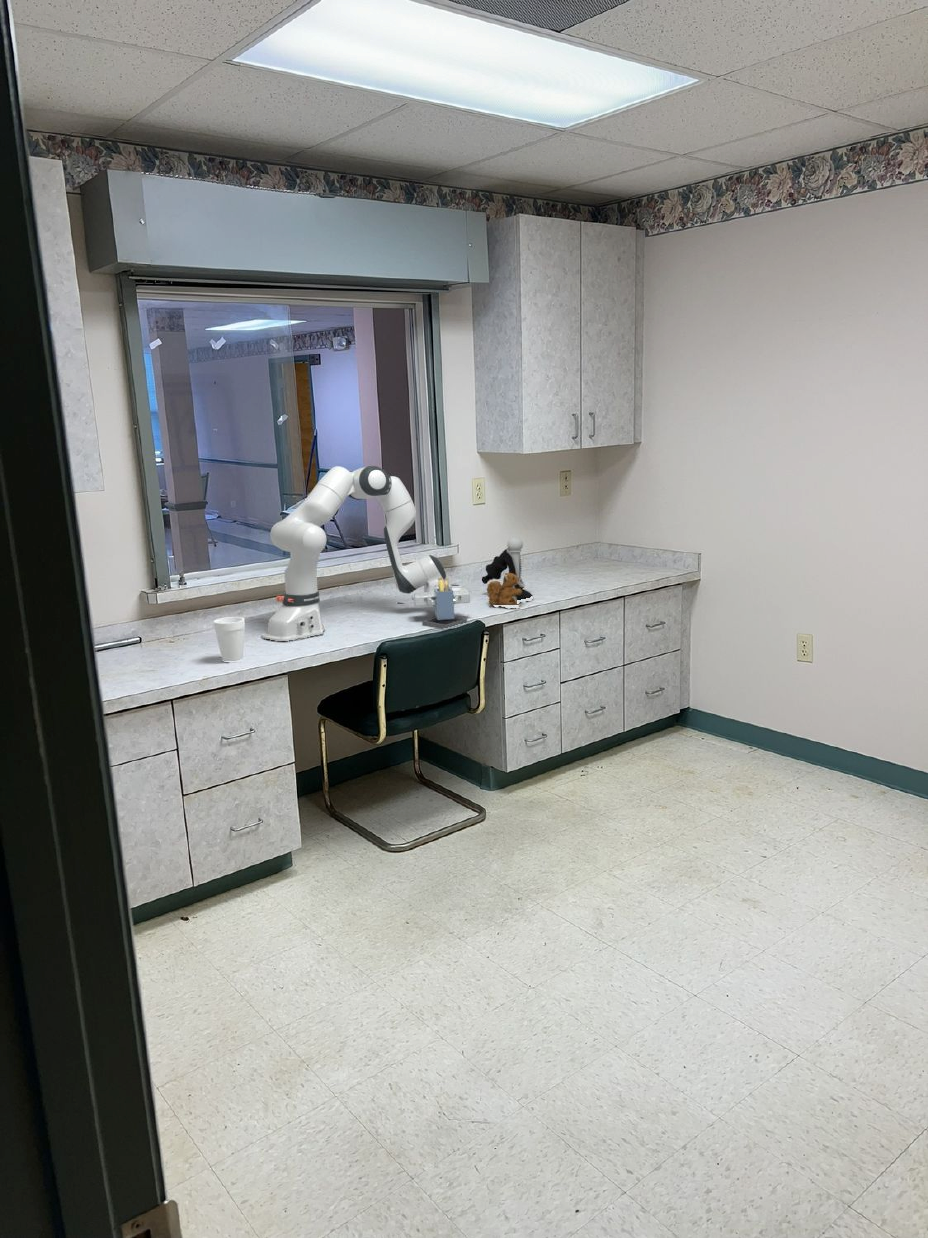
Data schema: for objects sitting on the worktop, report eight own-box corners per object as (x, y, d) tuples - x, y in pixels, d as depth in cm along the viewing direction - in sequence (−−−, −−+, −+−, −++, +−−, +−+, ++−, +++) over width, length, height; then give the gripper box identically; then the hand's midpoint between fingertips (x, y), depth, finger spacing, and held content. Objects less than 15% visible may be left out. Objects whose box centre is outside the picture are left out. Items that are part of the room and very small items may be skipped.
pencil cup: (437, 619, 323) (436, 591, 321) (435, 616, 329) (434, 588, 326) (454, 618, 324) (453, 590, 322) (451, 615, 330) (450, 587, 327)
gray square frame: (445, 631, 319) (445, 625, 319) (422, 627, 326) (422, 621, 326) (467, 625, 327) (466, 619, 327) (443, 621, 334) (443, 615, 334)
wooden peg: (447, 615, 325) (446, 579, 322) (444, 615, 326) (443, 579, 323) (450, 614, 326) (449, 578, 323) (447, 614, 327) (446, 578, 324)
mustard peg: (443, 616, 324) (441, 580, 321) (439, 616, 325) (438, 580, 322) (445, 615, 325) (444, 579, 322) (442, 615, 326) (441, 579, 323)
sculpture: (518, 604, 358) (517, 541, 353) (471, 598, 373) (469, 537, 367) (541, 598, 370) (540, 536, 364) (494, 592, 384) (492, 532, 379)
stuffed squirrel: (521, 609, 350) (520, 575, 347) (484, 609, 352) (483, 575, 349) (523, 604, 360) (523, 570, 357) (488, 603, 362) (487, 570, 359)
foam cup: (250, 656, 295) (247, 616, 292) (245, 663, 286) (241, 622, 283) (220, 657, 295) (217, 617, 292) (214, 664, 286) (210, 624, 283)
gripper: (410, 588, 335) (414, 595, 322) (466, 584, 338) (472, 592, 325) (411, 605, 337) (415, 613, 323) (466, 601, 340) (473, 609, 326)
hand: (444, 602), depth 324 cm, fingers closed on pencil cup, 6 cm apart
